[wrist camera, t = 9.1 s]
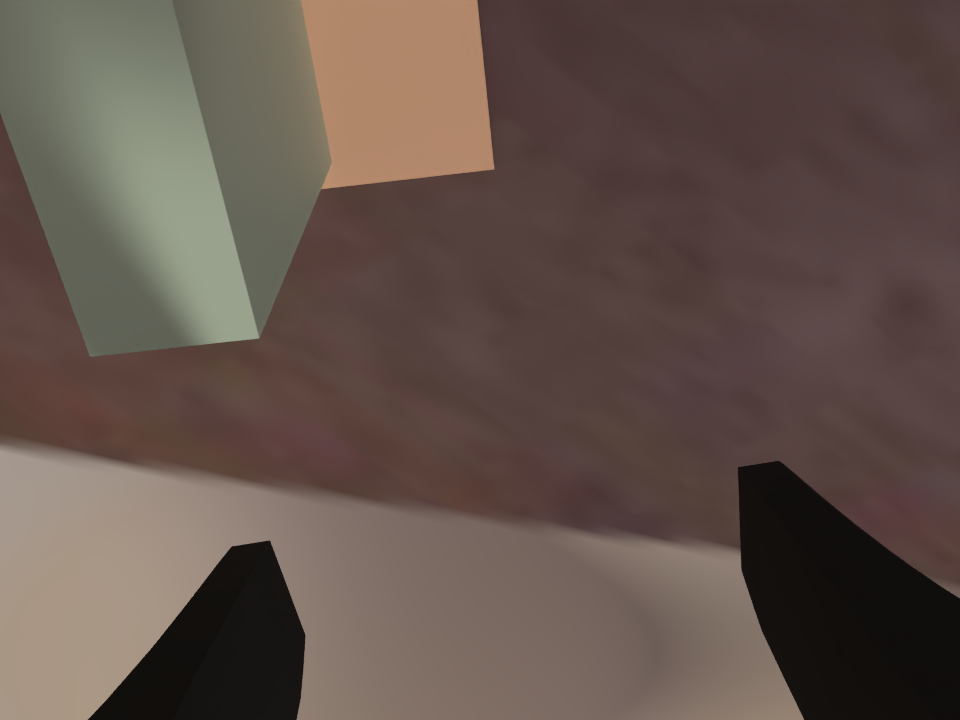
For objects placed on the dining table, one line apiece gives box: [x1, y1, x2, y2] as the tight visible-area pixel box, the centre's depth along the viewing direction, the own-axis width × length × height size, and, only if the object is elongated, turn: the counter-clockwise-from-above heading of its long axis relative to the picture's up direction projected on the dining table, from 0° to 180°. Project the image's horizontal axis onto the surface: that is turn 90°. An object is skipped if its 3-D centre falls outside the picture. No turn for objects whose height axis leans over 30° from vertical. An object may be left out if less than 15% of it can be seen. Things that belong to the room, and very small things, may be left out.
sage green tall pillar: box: [0, 0, 332, 357], centre depth 15 cm, size 2×6×9 cm, turn 6°
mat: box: [301, 0, 494, 189], centre depth 19 cm, size 10×7×1 cm
